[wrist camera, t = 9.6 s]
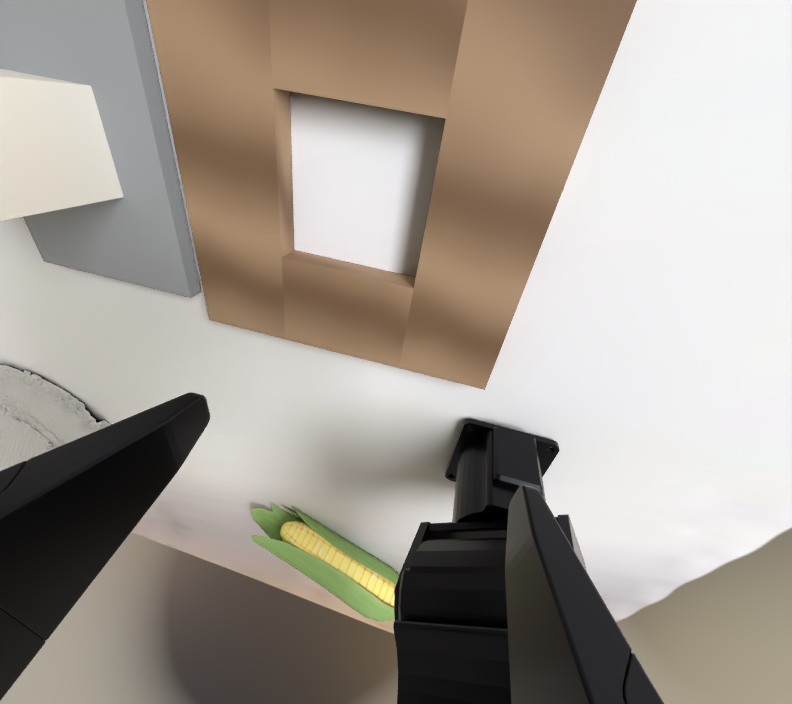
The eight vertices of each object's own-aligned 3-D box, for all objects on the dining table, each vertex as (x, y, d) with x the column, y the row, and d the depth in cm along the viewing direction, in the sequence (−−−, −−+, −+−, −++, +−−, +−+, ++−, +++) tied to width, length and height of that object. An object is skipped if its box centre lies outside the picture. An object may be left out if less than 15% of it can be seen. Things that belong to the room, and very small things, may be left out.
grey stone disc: (169, 499, 43) (122, 554, 37) (39, 471, 46) (-23, 518, 40) (93, 369, 32) (11, 420, 26) (-71, 344, 35) (-176, 385, 29)
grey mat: (201, 291, 23) (190, 297, 22) (58, 256, 24) (43, 261, 23) (128, -70, 14) (105, -83, 13) (-97, -100, 15) (-131, -113, 14)
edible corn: (384, 630, 38) (405, 639, 34) (231, 533, 34) (238, 533, 31) (402, 579, 41) (423, 583, 38) (264, 487, 38) (274, 482, 34)
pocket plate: (484, 374, 22) (484, 389, 20) (223, 309, 23) (209, 319, 22) (644, -46, 11) (663, -67, 10) (155, -105, 13) (120, -129, 12)
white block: (123, 197, 19) (-1, 221, 14) (46, 179, 20) (-99, 197, 15) (91, 86, 16) (-78, 68, 11) (2, 69, 17) (-197, 45, 12)
